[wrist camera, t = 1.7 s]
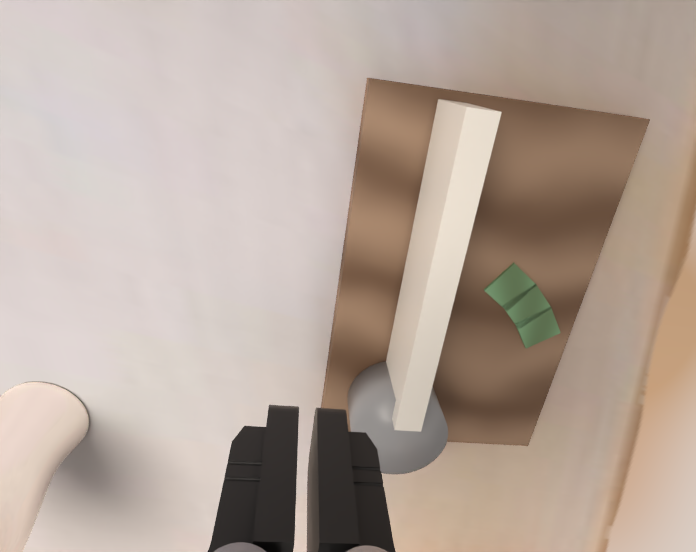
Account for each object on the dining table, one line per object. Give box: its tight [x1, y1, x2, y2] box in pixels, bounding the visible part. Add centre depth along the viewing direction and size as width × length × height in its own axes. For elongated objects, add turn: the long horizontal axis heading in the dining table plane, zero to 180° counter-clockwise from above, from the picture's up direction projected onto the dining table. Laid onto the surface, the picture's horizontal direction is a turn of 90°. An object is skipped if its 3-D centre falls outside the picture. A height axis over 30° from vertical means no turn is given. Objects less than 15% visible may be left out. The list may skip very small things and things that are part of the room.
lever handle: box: [347, 99, 502, 474], centre depth 27 cm, size 22×6×5 cm, turn 172°
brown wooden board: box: [321, 78, 650, 446], centre depth 31 cm, size 24×16×2 cm, turn 172°
